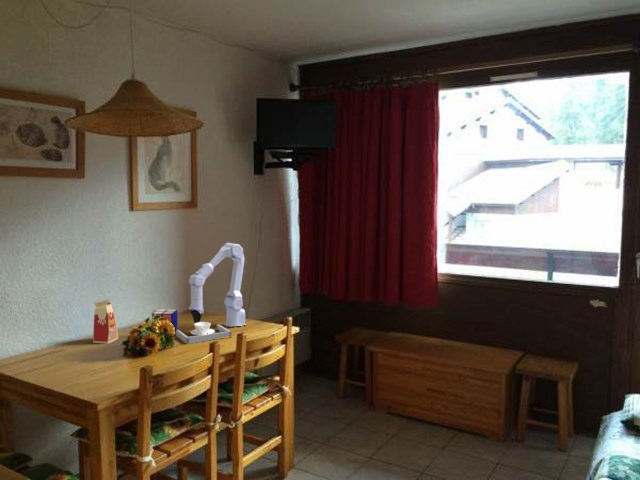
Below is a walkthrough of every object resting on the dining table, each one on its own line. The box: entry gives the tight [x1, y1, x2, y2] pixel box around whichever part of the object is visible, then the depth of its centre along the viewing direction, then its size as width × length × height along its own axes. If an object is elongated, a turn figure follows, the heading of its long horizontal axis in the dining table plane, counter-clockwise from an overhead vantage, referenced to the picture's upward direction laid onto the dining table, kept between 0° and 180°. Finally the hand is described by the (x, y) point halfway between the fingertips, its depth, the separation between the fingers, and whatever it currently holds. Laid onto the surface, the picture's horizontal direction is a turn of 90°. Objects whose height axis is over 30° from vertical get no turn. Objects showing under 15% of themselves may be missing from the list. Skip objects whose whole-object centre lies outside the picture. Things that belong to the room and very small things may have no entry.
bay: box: [175, 324, 232, 345], centre depth 265 cm, size 22×16×3 cm
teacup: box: [190, 321, 216, 336], centre depth 269 cm, size 12×12×5 cm
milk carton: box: [92, 299, 119, 345], centre depth 255 cm, size 9×9×20 cm
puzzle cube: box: [151, 308, 179, 330], centre depth 275 cm, size 10×10×10 cm
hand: (197, 324), depth 272 cm, fingers closed
